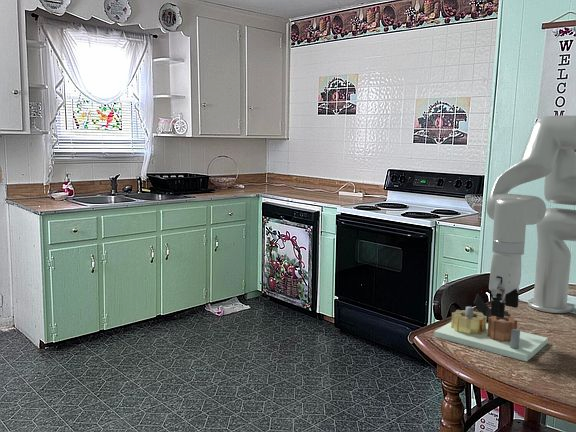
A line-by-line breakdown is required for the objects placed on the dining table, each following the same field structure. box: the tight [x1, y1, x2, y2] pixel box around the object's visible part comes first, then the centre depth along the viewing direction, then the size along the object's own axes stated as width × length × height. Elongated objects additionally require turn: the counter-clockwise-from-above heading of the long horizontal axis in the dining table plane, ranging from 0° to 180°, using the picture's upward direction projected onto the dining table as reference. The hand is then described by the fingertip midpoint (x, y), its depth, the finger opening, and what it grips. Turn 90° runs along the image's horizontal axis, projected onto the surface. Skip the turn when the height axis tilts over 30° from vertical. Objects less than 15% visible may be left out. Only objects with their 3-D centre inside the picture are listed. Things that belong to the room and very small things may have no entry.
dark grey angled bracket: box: [473, 293, 509, 323], centre depth 161 cm, size 12×7×10 cm
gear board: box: [433, 306, 549, 362], centre depth 142 cm, size 16×24×8 cm, turn 48°
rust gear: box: [487, 315, 518, 342], centre depth 140 cm, size 7×7×5 cm
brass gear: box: [450, 309, 487, 335], centre depth 146 cm, size 9×9×4 cm
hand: (504, 311), depth 140 cm, fingers open, 9 cm apart
